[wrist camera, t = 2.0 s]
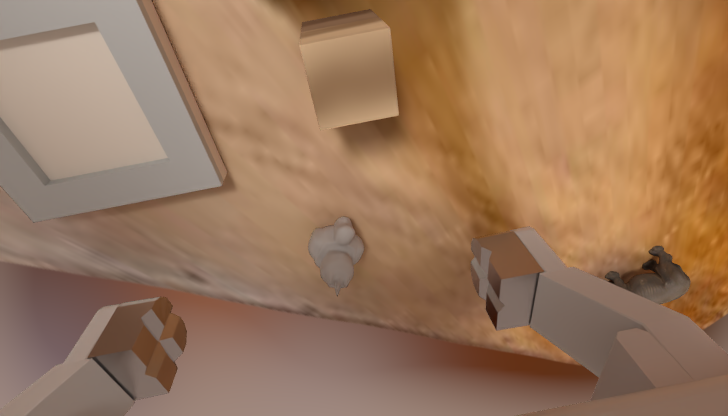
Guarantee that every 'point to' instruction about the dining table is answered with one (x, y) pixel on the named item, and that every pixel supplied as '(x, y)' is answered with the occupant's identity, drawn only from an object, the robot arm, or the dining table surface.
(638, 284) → the rhino figurine
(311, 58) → the light brown wooden block
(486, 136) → the dining table surface
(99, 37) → the grey picture frame
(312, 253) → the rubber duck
